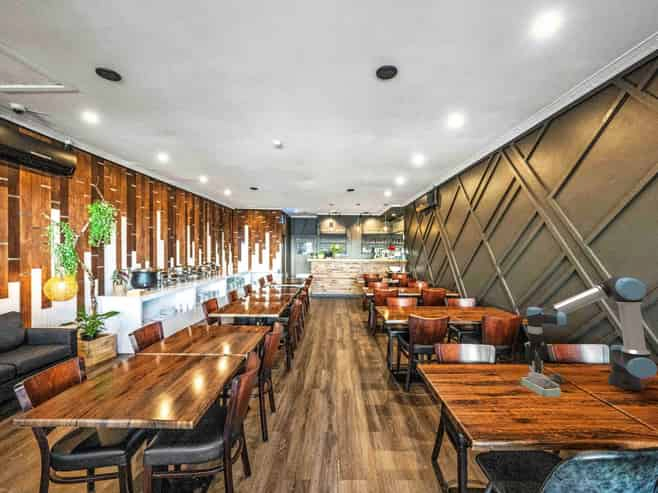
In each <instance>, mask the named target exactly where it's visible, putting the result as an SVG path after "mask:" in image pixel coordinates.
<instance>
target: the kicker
mask: <svg viewBox="0 0 658 493" xmlns="http://www.w3.org/2000/svg"><path fill="white" fill-rule="evenodd" d="M533 359H534V360H533V361H534V373H540V374H543V375H544V376H545V377H547V378H548V377H549V376H548V375H546V374H544V373H542V371H541V356H538V354H536V355H535V354H534V356H533ZM531 372H532V371H528V374H529V373H531ZM548 383H549V380H546V381H545V384H548ZM544 388H546V389H555V388H560V384H559V383H558V382H557V383H556V382H553V381H551V384H550V386H545V387H544Z"/></svg>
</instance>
